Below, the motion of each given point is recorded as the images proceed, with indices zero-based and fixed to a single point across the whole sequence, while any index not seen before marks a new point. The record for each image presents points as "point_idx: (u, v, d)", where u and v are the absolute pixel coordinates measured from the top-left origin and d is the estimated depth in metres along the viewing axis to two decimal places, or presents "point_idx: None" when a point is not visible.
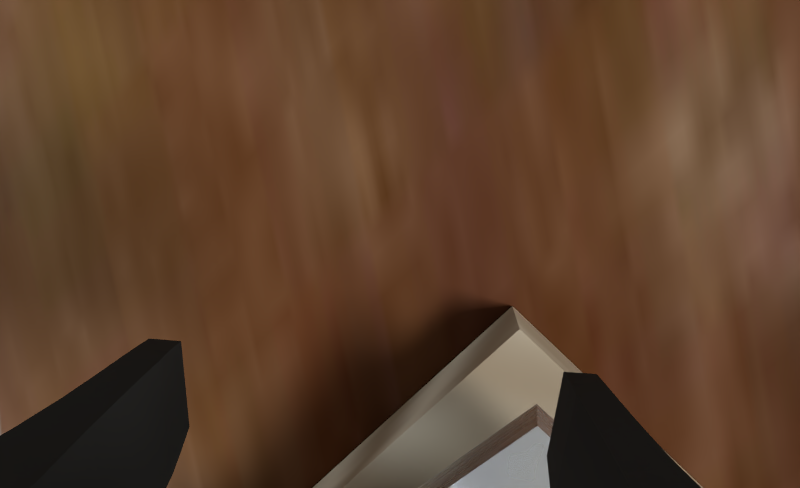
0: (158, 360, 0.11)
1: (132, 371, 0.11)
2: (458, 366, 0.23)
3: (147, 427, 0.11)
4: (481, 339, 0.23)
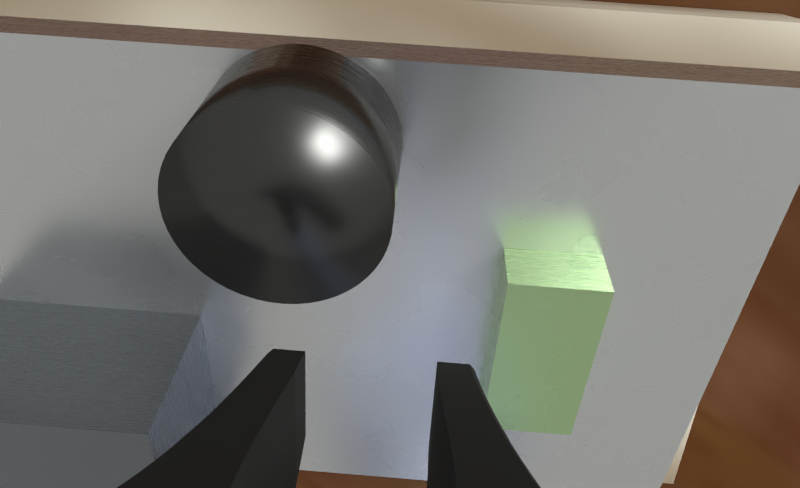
0: (293, 371, 0.11)
1: (273, 382, 0.11)
2: None
3: (285, 438, 0.11)
4: None
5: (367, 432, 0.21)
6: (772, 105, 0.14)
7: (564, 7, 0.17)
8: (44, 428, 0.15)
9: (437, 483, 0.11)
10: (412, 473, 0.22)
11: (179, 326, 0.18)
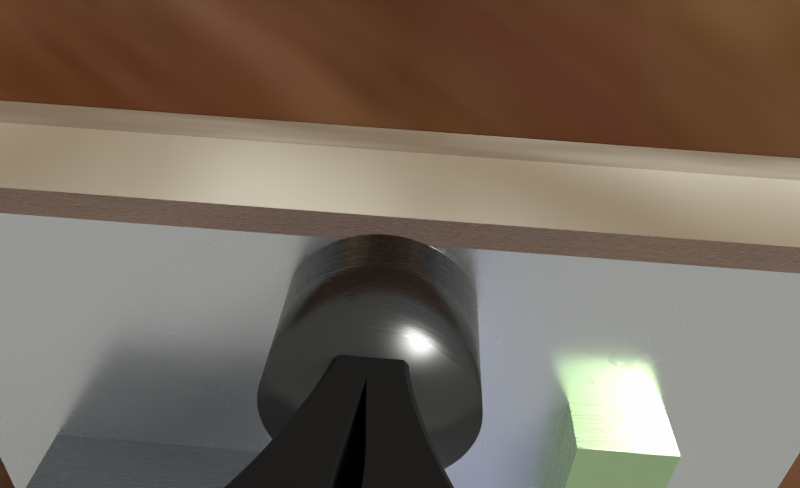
0: (365, 377, 0.11)
1: (347, 388, 0.11)
2: None
3: (357, 444, 0.11)
4: None
5: None
6: None
7: (626, 168, 0.17)
8: None
9: None
10: None
11: None
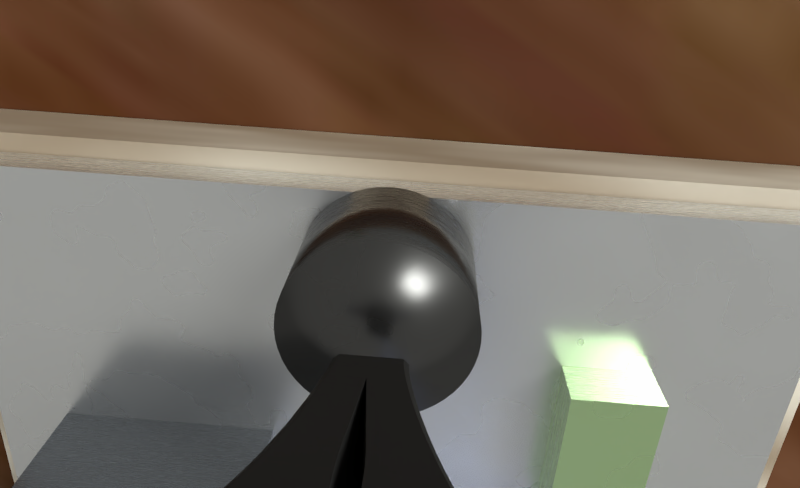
0: (365, 377, 0.11)
1: (347, 388, 0.11)
2: None
3: (357, 444, 0.11)
4: None
5: None
6: (797, 241, 0.16)
7: (630, 178, 0.17)
8: None
9: None
10: None
11: (254, 440, 0.19)
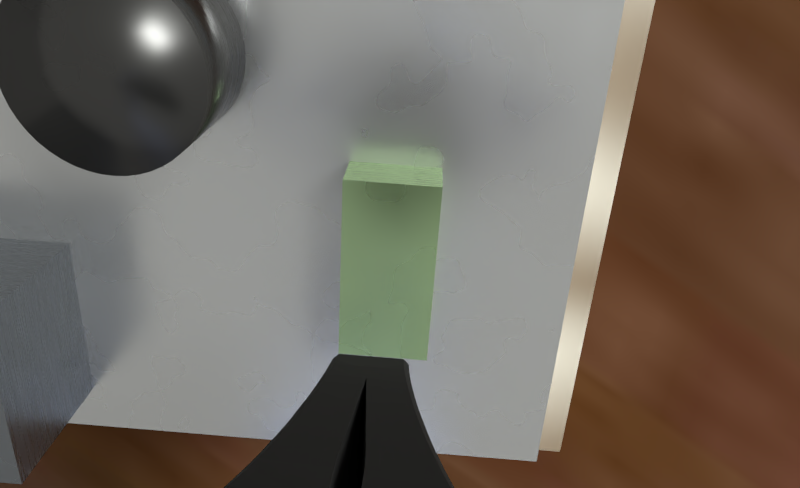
0: (365, 377, 0.11)
1: (347, 388, 0.11)
2: None
3: (357, 444, 0.11)
4: None
5: (240, 382, 0.21)
6: (568, 8, 0.15)
7: None
8: None
9: None
10: None
11: (43, 250, 0.18)
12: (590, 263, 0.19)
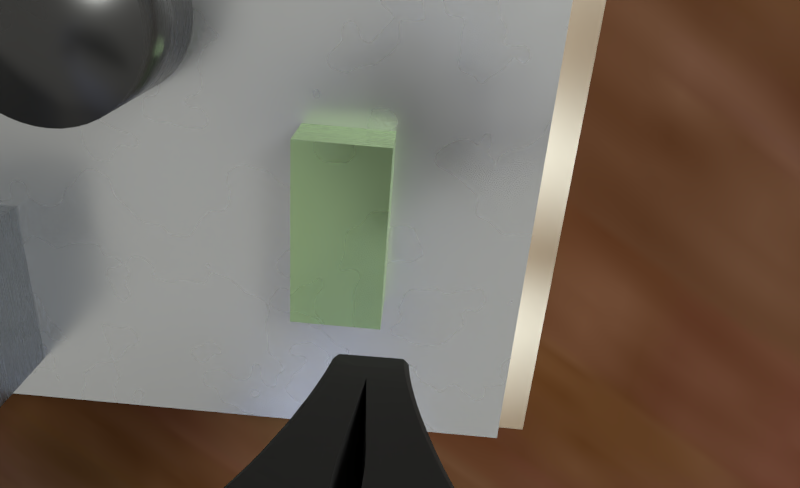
0: (365, 377, 0.11)
1: (347, 388, 0.11)
2: None
3: (357, 444, 0.11)
4: None
5: (194, 352, 0.20)
6: None
7: None
8: None
9: None
10: (245, 406, 0.21)
11: None
12: (551, 234, 0.19)
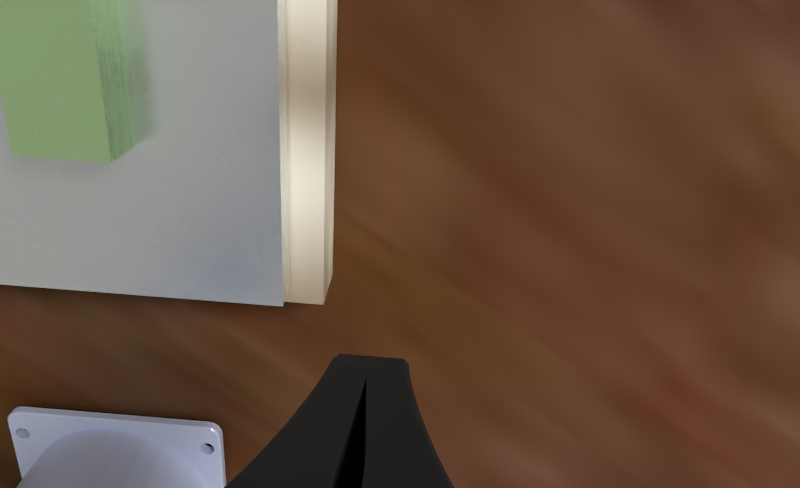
0: (365, 377, 0.11)
1: (347, 388, 0.11)
2: None
3: (357, 444, 0.11)
4: None
5: None
6: None
7: None
8: None
9: None
10: (10, 275, 0.19)
11: None
12: (315, 69, 0.17)
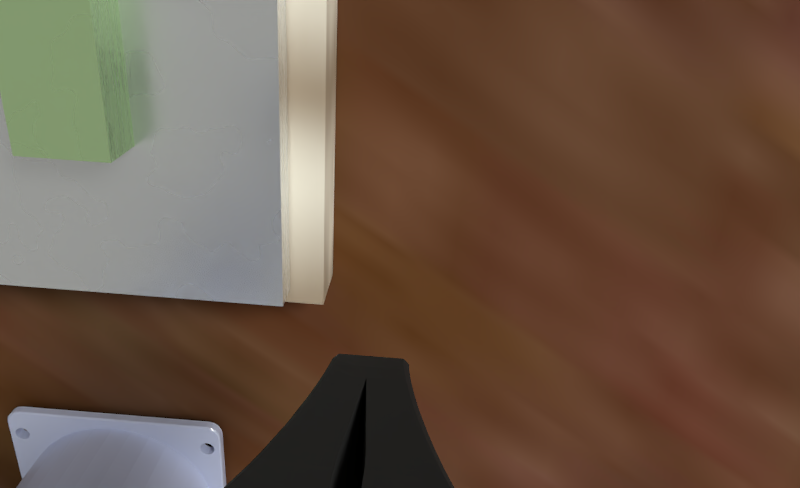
0: (365, 377, 0.11)
1: (347, 388, 0.11)
2: None
3: (357, 444, 0.11)
4: None
5: None
6: None
7: None
8: None
9: None
10: (10, 275, 0.19)
11: None
12: (315, 69, 0.17)
